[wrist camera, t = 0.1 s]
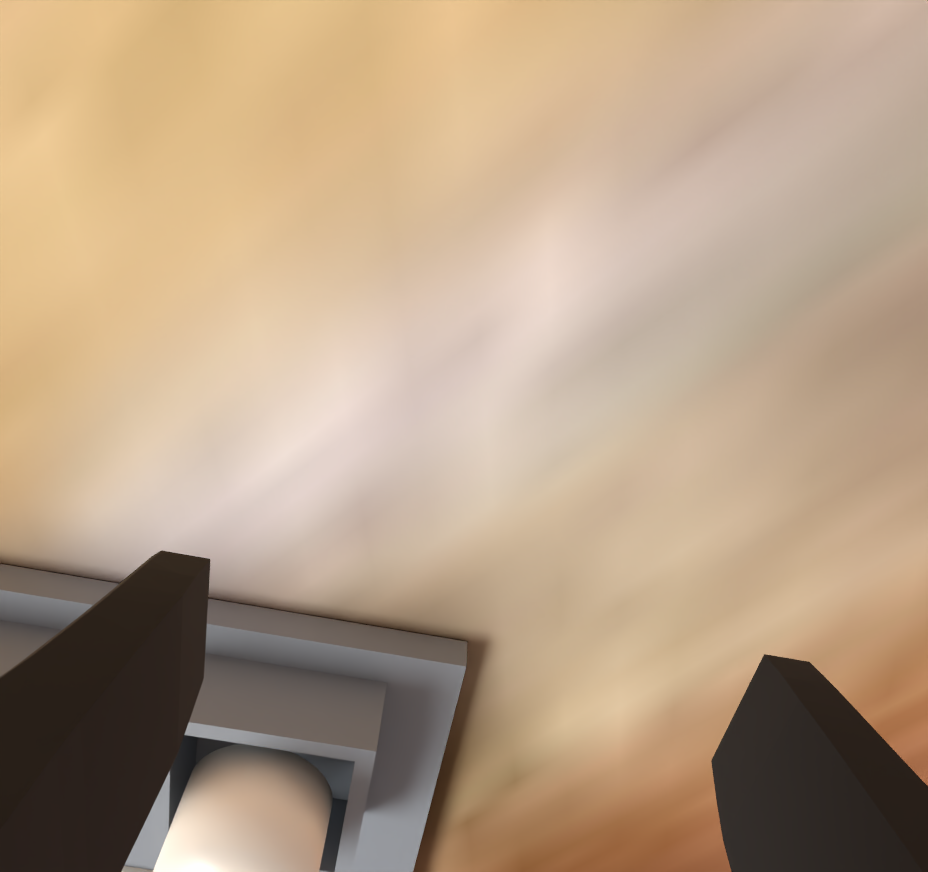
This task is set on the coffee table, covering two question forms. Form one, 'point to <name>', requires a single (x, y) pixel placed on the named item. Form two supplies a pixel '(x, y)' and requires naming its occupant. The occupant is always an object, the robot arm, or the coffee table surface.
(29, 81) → the coffee table surface
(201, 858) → the button
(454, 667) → the console
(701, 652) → the coffee table surface
